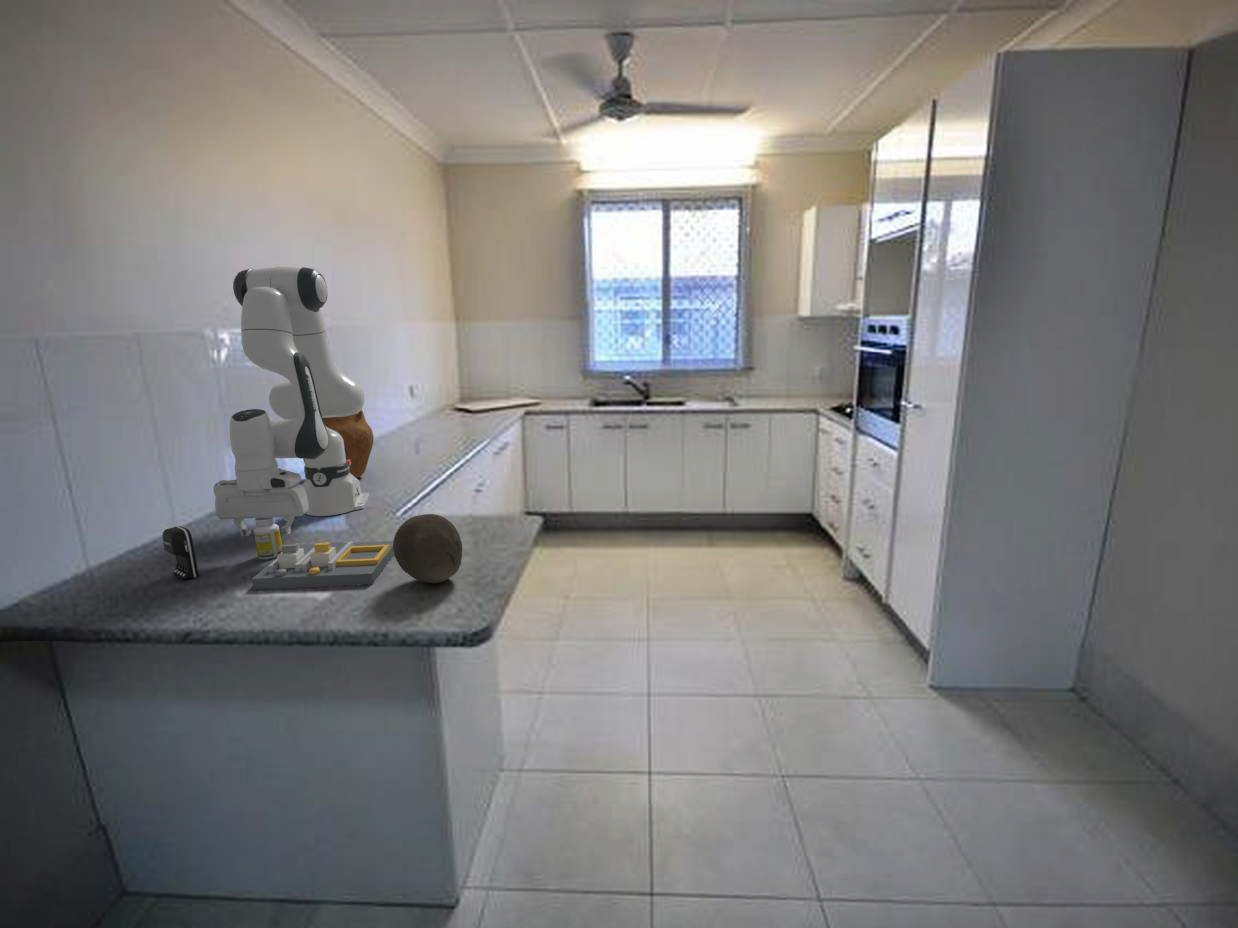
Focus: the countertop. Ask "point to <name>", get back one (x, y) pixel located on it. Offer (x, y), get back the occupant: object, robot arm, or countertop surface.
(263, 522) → the supplement bottle
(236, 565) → the countertop surface
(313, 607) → the countertop surface
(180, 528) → the black electronic device
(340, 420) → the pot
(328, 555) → the breaker
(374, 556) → the breaker panel
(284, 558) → the breaker
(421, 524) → the dark brown ball
